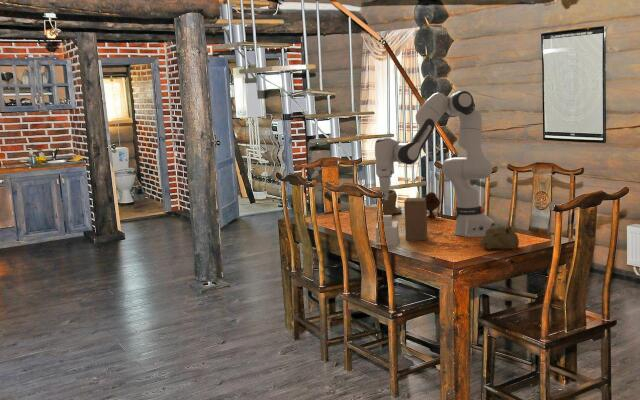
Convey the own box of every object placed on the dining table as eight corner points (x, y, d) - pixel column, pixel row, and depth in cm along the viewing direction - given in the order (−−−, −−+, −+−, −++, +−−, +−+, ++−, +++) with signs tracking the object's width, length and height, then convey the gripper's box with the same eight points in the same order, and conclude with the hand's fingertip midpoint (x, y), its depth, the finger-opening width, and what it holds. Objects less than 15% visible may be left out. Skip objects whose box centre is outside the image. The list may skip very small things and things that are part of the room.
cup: (378, 238, 356) (377, 213, 353) (398, 238, 354) (397, 212, 352) (376, 245, 341) (375, 219, 339) (397, 245, 339) (396, 218, 337)
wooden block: (425, 240, 345) (424, 200, 342) (405, 240, 347) (404, 201, 344) (427, 236, 355) (426, 197, 351) (407, 236, 357) (406, 197, 354)
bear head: (473, 248, 322) (474, 223, 321) (502, 245, 331) (503, 221, 330) (493, 253, 311) (494, 227, 309) (523, 250, 319) (524, 225, 318)
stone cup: (381, 217, 411) (380, 192, 408) (375, 214, 422) (374, 189, 420) (406, 215, 414) (405, 190, 411) (399, 211, 425) (398, 187, 423)
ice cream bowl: (443, 216, 403) (442, 190, 401) (435, 219, 394) (435, 193, 392) (426, 215, 409) (425, 190, 406) (418, 218, 400) (417, 193, 397)
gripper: (380, 167, 352) (381, 194, 355) (377, 174, 332) (378, 202, 335) (392, 167, 351) (394, 193, 353) (390, 173, 331) (392, 201, 334)
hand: (386, 198), depth 344 cm, fingers open, 8 cm apart
